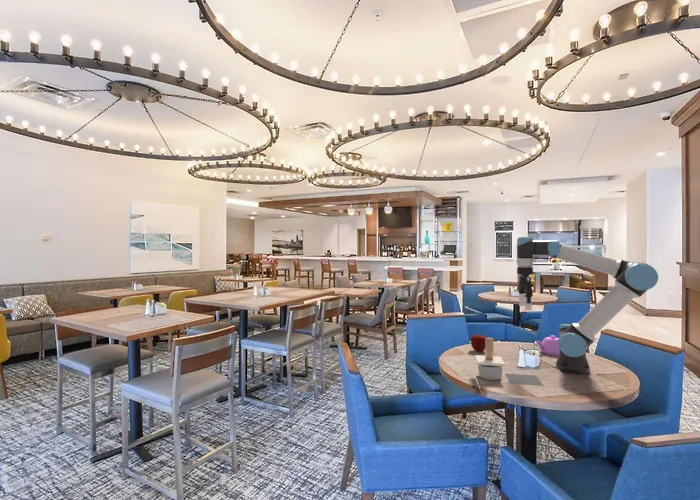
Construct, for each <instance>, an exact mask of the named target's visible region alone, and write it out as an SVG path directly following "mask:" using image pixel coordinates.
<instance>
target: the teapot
mask: <svg viewBox="0 0 700 500" xmlns="http://www.w3.org/2000/svg"><path fill="white" fill-rule="evenodd" d="M558 339H559V337H556V335H550V336H547V337H544V339H543V340H542V341H541V340H538V339H537V340H536V341H535V343H536V344H537V345H538V346H539V350H540V352H541V353H542V354H544V355H548V356H553V357H558V356H559V353H560V348H559V346H558Z"/></svg>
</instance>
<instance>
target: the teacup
mask: <svg viewBox="0 0 700 500" xmlns="http://www.w3.org/2000/svg"><path fill="white" fill-rule="evenodd" d="M477 367H478V374H479V377H480V378H482V379H483V380H486V381H499V380H500V379H502V377H503V366H490V365H478V366H477Z"/></svg>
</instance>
